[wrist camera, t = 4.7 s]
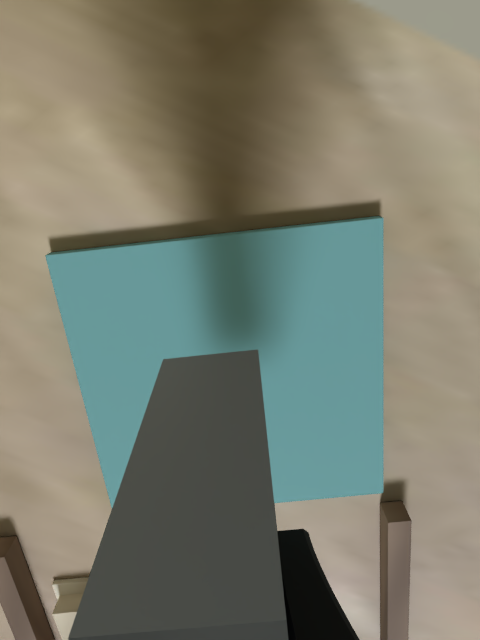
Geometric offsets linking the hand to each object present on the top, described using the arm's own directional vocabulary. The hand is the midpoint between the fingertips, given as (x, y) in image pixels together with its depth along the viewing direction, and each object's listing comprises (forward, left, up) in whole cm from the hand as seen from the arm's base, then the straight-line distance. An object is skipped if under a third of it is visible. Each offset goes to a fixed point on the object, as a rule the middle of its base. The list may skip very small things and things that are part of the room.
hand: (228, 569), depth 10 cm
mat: (0, 0, -9) cm, 9 cm away
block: (0, 0, -3) cm, 3 cm away
